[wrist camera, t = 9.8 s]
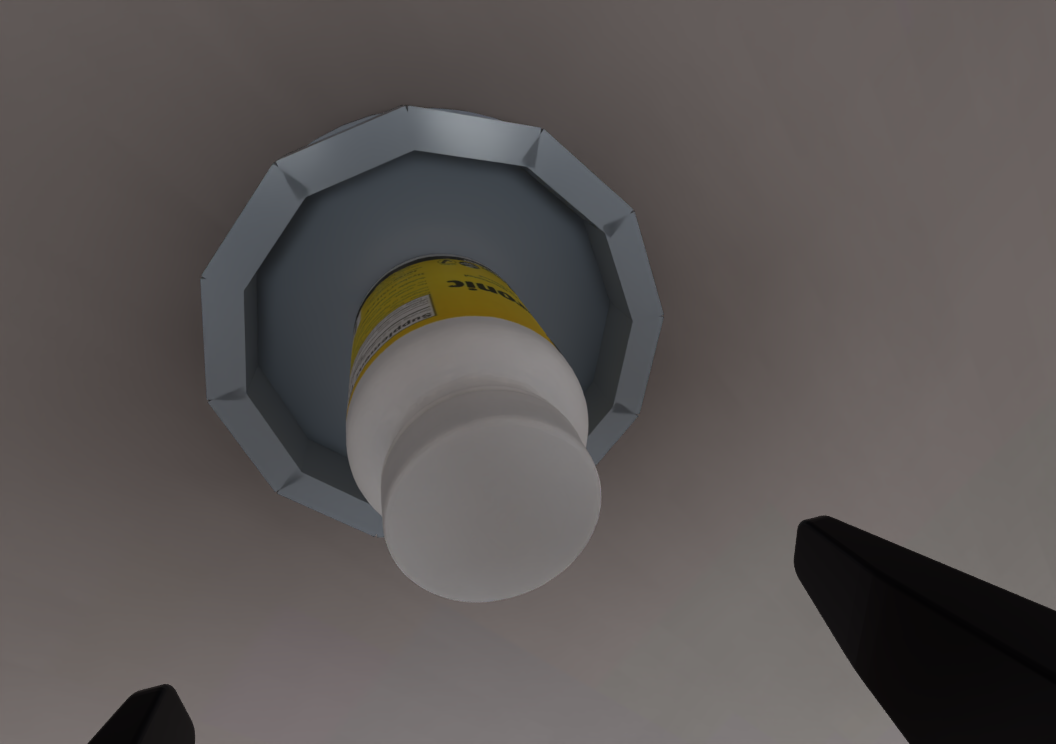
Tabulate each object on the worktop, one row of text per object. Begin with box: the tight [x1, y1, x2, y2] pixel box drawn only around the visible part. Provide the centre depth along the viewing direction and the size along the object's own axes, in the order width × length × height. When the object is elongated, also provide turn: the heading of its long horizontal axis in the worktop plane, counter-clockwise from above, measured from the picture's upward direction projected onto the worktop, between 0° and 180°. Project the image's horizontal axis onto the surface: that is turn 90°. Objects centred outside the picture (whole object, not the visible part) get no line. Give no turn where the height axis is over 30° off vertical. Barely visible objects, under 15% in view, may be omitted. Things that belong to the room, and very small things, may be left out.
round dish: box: [200, 105, 664, 537], centre depth 19 cm, size 13×13×3 cm
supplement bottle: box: [346, 254, 601, 602], centre depth 15 cm, size 5×5×10 cm
